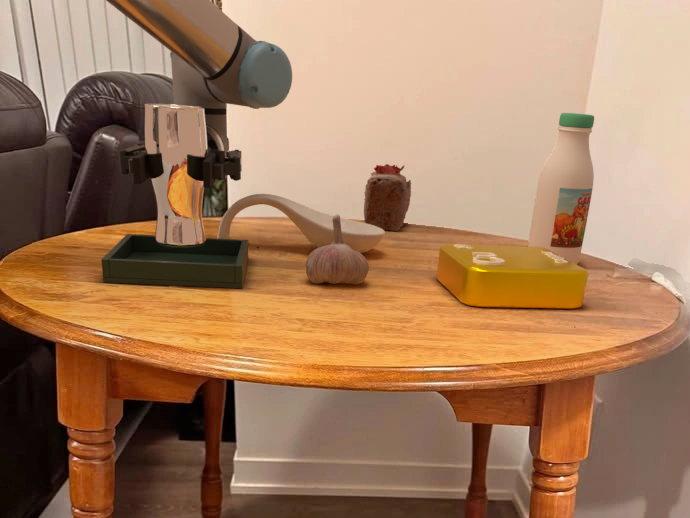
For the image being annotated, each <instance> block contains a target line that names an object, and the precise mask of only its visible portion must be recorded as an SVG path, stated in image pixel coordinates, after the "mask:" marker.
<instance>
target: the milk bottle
mask: <svg viewBox="0 0 690 518" xmlns="http://www.w3.org/2000/svg"><path fill="white" fill-rule="evenodd" d="M594 124H595V116H594V115H592V114H587V113H574V112H562V113H560V115H559V121H558V128H557V130H558V137H557V139H556V142H555V144H554V147H552V150H551V152H550V153H549V155H548V156H547V158H546V160H545V162H544V164H543V166H542V168H541V171H540V174H539V178H538V183H537V187H536V192H535V199H534V206H533V210H532V215H531V216H532V217H531V223H530V230H529V236H528V242H527V246H528V247H543V248H546V249H548V250H550V251H552V252H554V253H556V254H558V255H560V256H561V257H563V258H565V259H567V260H569V261H571V262H573V263H574V264H576V265H578V264H579V262H580V258H581V253H582V249H583V243H584V237H585V233H586V227H587V222H588V216H589V212H590V206H591V200H592V195H593V187H594V178H595V176H594V175H595V174H594V167H593V161H592V156H591V151H590V136H591V133H592V132H593V127H594Z"/></svg>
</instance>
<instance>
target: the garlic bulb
mask: <svg viewBox="0 0 690 518" xmlns="http://www.w3.org/2000/svg"><path fill="white" fill-rule="evenodd" d="M332 216H333V228H334V237H333V242H332V244H331V245H326V246H323V247H320V248H317V247H316V248H315V249H313V250H312V251H311V252H310V253H309V255H308V256H307V258H306V261H305V268H306V269H305V270H306V276H307V278H308V280H309V281H310V282H312V283H314V284H322V283H330V284H332V285H336V284H342V285H344V284H345V285H346V284H349V285H359V284H361V283H363V282H364V281H365V280H366V278H367V277H368V274H369V272H370V271H369V270H370V266H369V262H368V260H367V258H366V257H365V255H363V253H360V252H358V251H355V250H353V249H352V248H351V247H350V246H348V245H347V244H344V240H343V236H342V231H341V223H340V218H341V215H339V214H335V215H332Z"/></svg>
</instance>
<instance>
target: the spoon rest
mask: <svg viewBox="0 0 690 518" xmlns="http://www.w3.org/2000/svg"><path fill="white" fill-rule="evenodd" d="M257 205H258V206H259V205H265V206H270V207H273V208H275V209H277V210H279V211H280V212H281V213H283V214H284V215H285V216H286V217H287V218H289V219H290V220H291V221H292V222H293V223H294V226H296V228H298V229H299V231H301V233H302V234H303V235H304V237H306V239H307V240H308V241H309V242H310V243H311V244H312V245H313V246H315V248H316V249H317V248H320V247H323V246H326V245H331V244H332V242H333V237H334V228H333V216H334V215H332V214H329V213H326V212H323V211H322V212H321V211H318V210H316V209H313V208H312V207H308V206H306V205H304V204H301V203H299V202H296V201H295V200H291V199H289V198H285V197H282V196H280V195H275V194H270V193H255V194H250V195H247V196H244V197H242V198H240V199H238V200H237V201H235V202H234V203H233V204H232V205H231V206H230V207H229V208H228V209H227V210H226V211H225V212H224V214H223V216H222V218H221V219H220V223H219V225H218V229H217V237H216V238H218V239H230V232H231V226H232V223H233V220H234V219H235V217H236V216H237V215H238V214H239V213H240V212H241V211H243V210H245V209H247V208H249V207H253V206H257ZM340 223H341V231H342V236H343V240H344V244H347V245H348V246H350V247H351V248H352V249H353V250H355V251H358V252H360V253H361V254H363V253H366V252H368V251H371V250H372V249H374V248H375V247H376V246H377V245H379V243H381V241H382V240H383V239H384V238H385V236H386V230H383V229H381V228H379V227H376V226H374V225H370V224H367V223H365V222H362V221H358V220H353V219H349V218H345V217H340Z"/></svg>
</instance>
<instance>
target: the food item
mask: <svg viewBox="0 0 690 518" xmlns="http://www.w3.org/2000/svg"><path fill="white" fill-rule="evenodd" d="M404 169H405V165H402V166H401V167H398V165H396V164H393V165H390V164H389V163H385V164H384V165H381V164H377V165H375V167H373V170H374V171H372V172H371V173H370V177H369V178H368V179H367V181H366V184H365V189H364V193H363V194H364V199H363V200H364V203H363V219H364V223H367V224H370V225H374V226H376V227H379V228H381V229H383V230H384V231H391V232H398V231H399V230H400V229H401V227H404V224H405V223H404V222H405V219H406V215H407V212H408V211H409V207H410V204H411V197H412V182H411V181H412V180H411V179H409V180H408V181H407V177H406V176H405V175H403V174H401V171H403V170H404Z"/></svg>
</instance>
